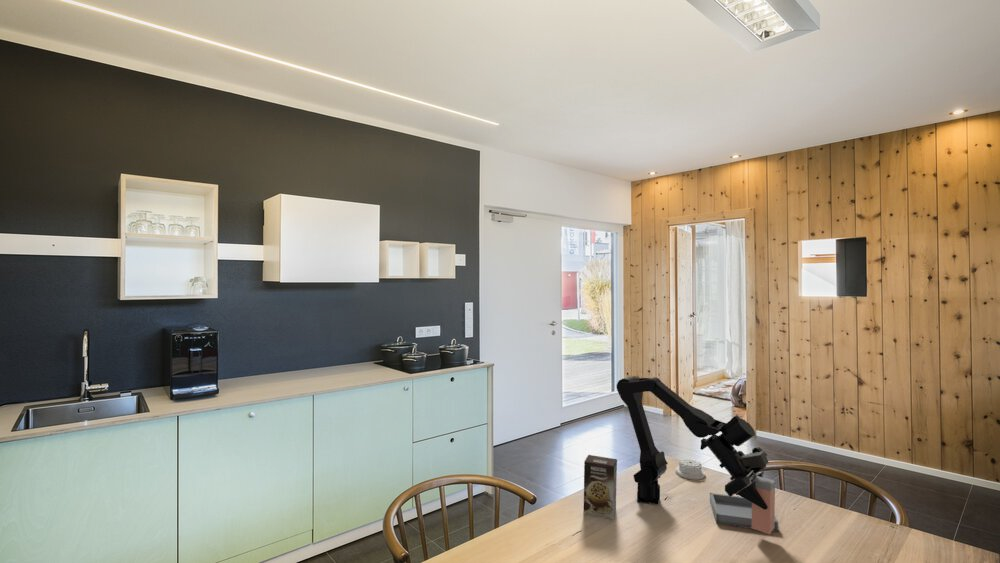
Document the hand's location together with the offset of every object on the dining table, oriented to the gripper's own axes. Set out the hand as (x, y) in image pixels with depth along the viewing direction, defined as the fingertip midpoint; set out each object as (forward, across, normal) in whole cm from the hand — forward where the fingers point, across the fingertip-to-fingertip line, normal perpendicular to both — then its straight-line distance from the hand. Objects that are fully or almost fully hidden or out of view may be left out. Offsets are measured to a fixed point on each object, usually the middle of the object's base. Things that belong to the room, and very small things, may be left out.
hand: (768, 505), depth 131 cm
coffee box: (-22, -18, +36) cm, 46 cm away
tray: (0, +9, +14) cm, 16 cm away
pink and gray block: (+4, 0, +6) cm, 7 cm away
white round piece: (-16, +29, +30) cm, 45 cm away
